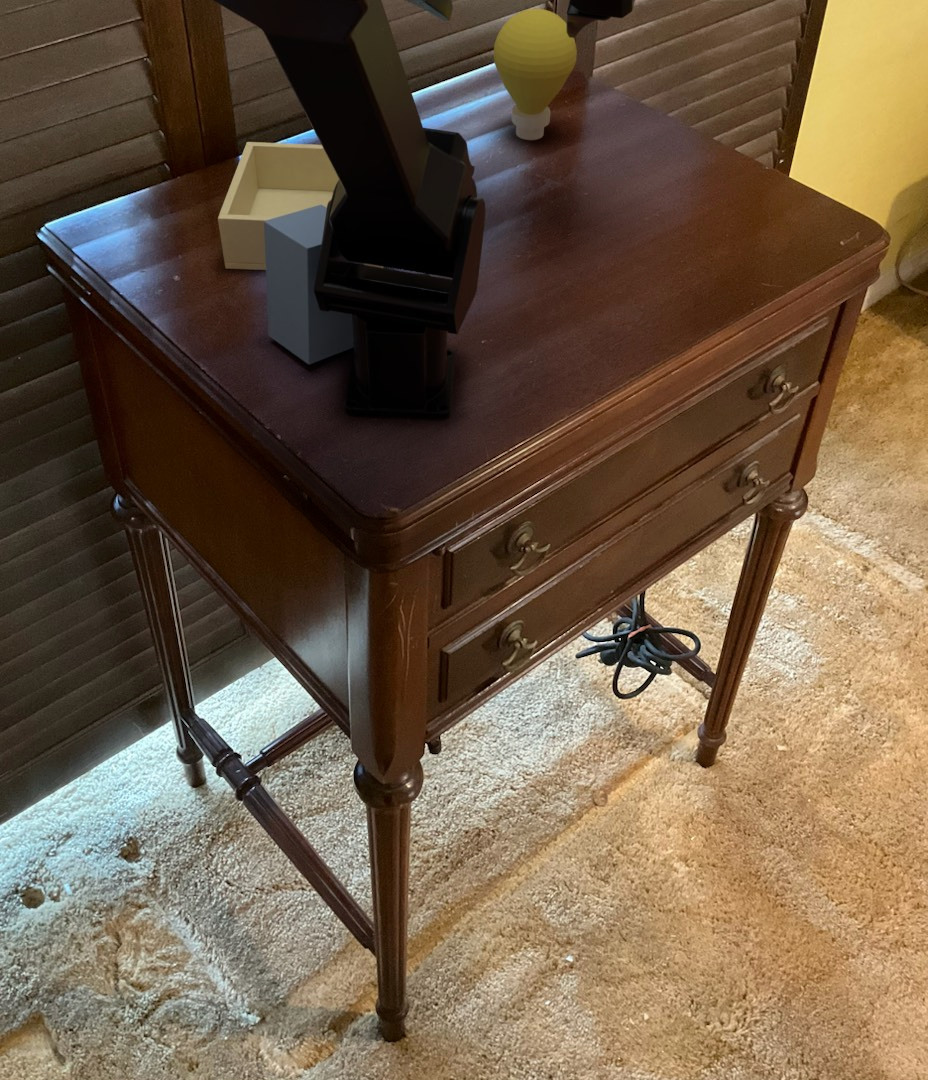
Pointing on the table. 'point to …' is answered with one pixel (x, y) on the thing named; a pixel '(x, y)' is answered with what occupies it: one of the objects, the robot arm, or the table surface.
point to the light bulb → (534, 66)
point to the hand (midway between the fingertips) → (510, 22)
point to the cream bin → (271, 196)
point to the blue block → (301, 288)
